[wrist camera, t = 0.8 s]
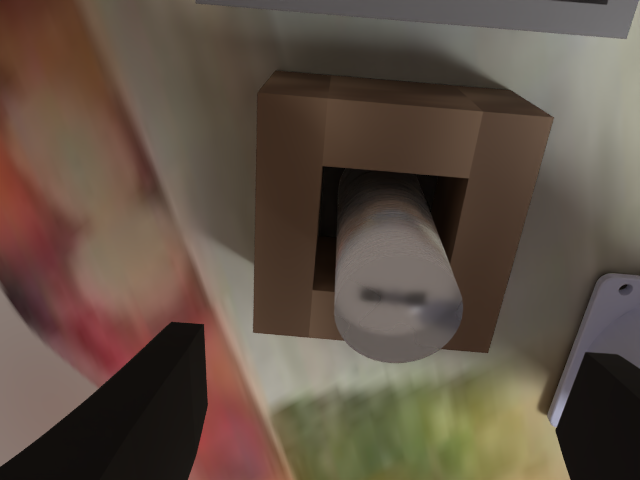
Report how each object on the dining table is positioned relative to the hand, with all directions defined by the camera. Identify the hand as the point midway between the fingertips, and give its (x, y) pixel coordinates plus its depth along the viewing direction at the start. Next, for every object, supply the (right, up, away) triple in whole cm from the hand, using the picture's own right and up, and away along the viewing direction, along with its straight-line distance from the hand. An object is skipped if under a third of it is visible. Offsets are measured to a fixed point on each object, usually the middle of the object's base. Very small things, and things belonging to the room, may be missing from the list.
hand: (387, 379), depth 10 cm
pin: (+1, +5, +9) cm, 10 cm away
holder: (+1, +5, +9) cm, 10 cm away
